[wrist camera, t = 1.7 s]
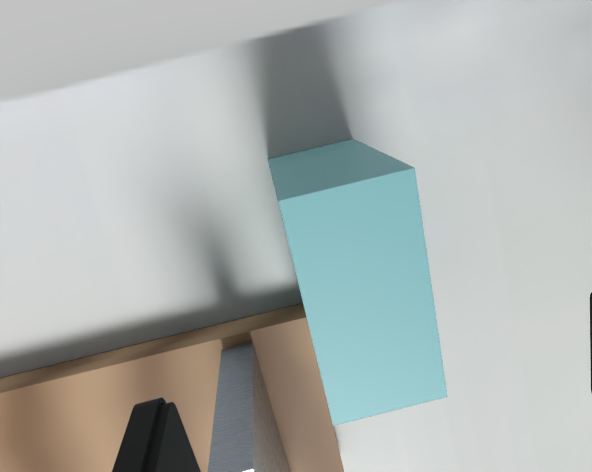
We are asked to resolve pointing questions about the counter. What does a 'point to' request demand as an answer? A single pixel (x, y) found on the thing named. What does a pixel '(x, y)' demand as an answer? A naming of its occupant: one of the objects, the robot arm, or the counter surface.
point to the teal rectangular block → (362, 276)
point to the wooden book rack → (166, 397)
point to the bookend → (244, 418)
